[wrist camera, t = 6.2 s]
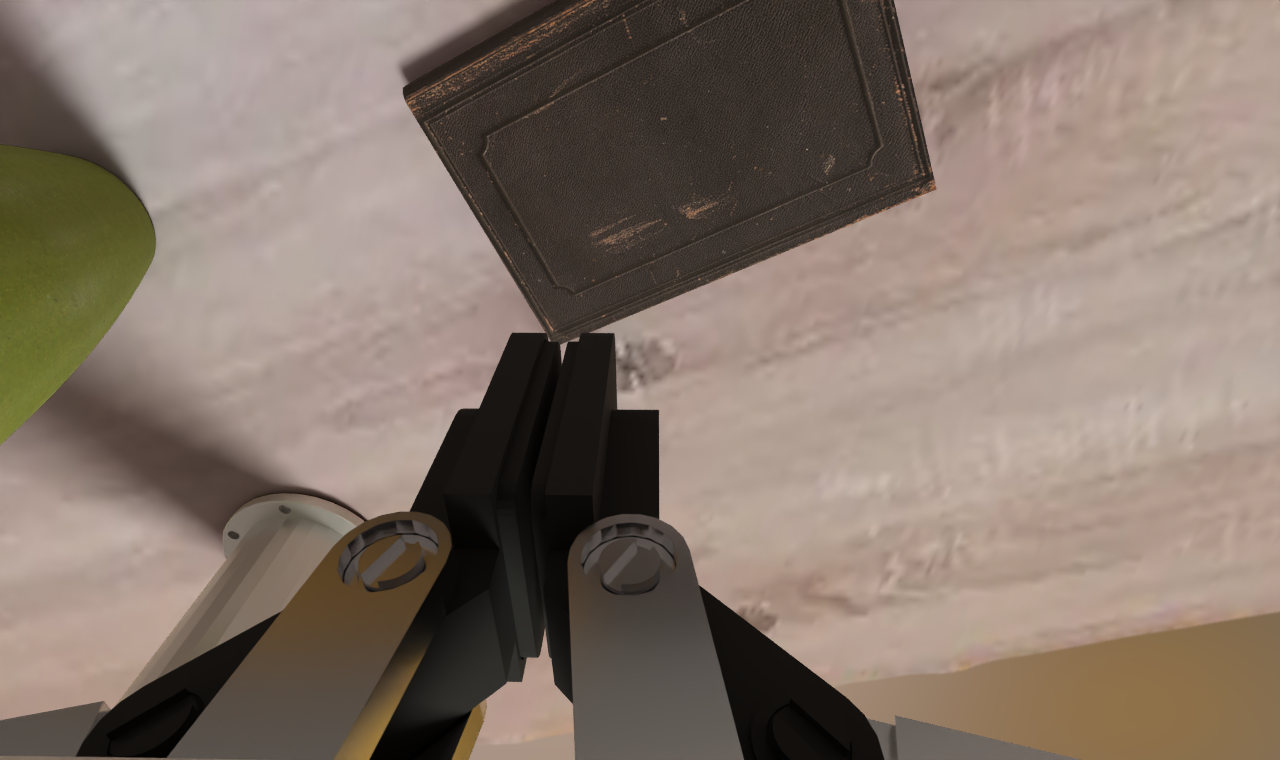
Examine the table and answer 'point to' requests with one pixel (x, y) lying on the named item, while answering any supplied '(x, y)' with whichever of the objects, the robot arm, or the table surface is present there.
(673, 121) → the hardcover book
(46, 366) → the flower pot
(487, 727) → the table surface
